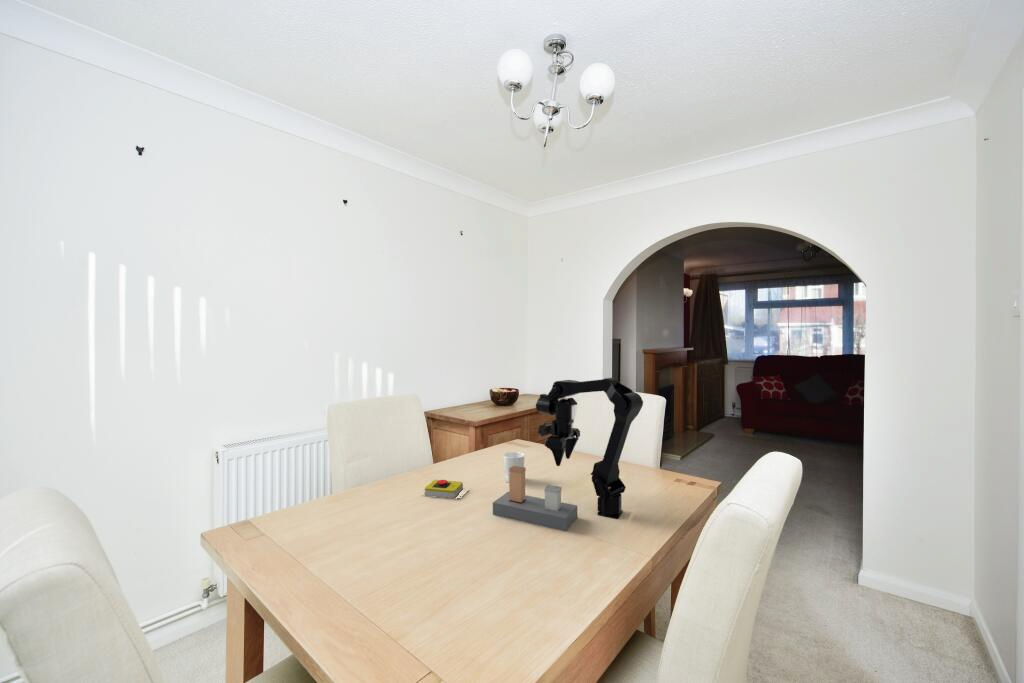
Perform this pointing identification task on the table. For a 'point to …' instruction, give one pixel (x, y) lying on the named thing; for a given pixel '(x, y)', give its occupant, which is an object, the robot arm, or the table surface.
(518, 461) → the white cup
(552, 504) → the grey plug
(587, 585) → the table surface
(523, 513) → the block
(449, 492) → the emergency button
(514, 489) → the terracotta plug
